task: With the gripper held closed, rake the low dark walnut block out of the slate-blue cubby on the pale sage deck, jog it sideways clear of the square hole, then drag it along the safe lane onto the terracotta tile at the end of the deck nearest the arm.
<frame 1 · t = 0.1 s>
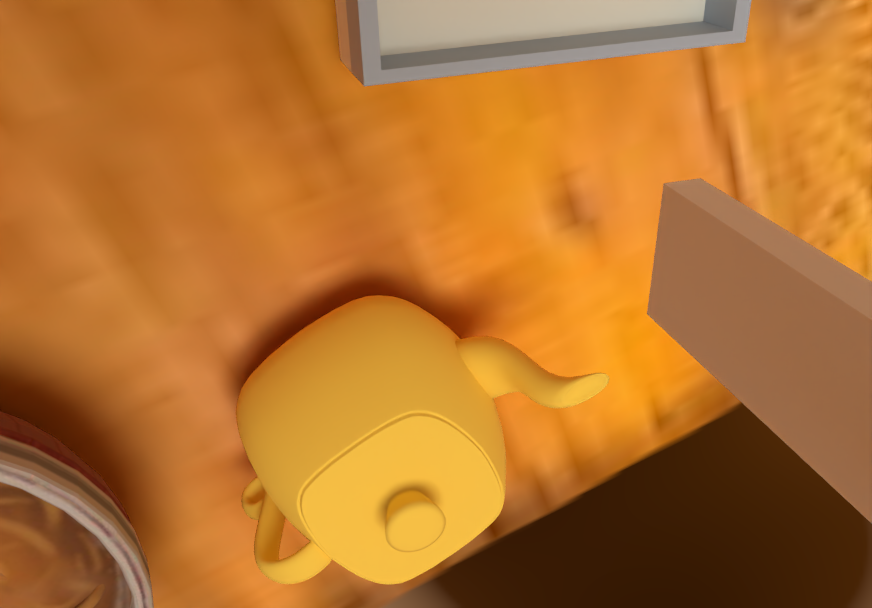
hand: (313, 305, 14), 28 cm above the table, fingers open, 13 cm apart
teapot: (375, 365, 49), on the table
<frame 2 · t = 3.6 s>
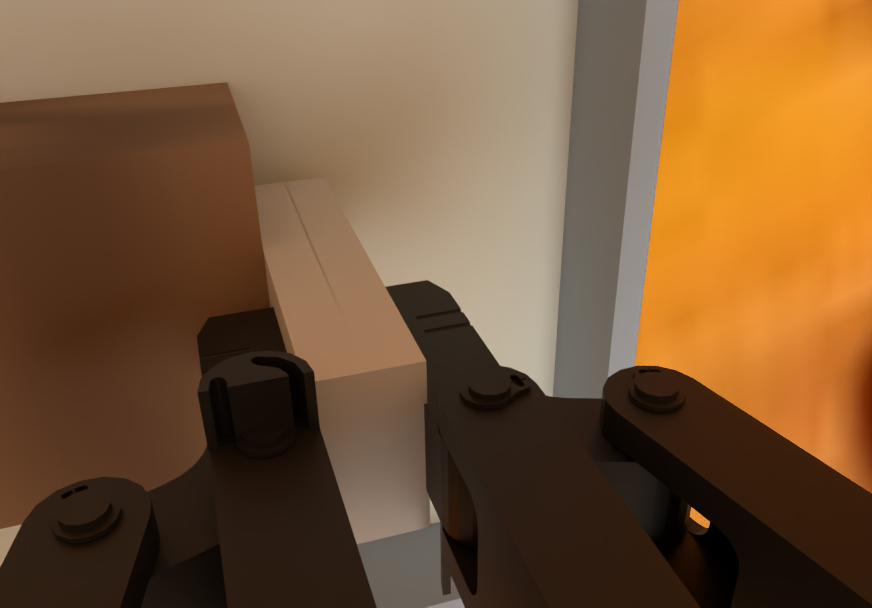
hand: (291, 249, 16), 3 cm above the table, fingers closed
walnut block: (85, 258, 16), point 3 cm above the table
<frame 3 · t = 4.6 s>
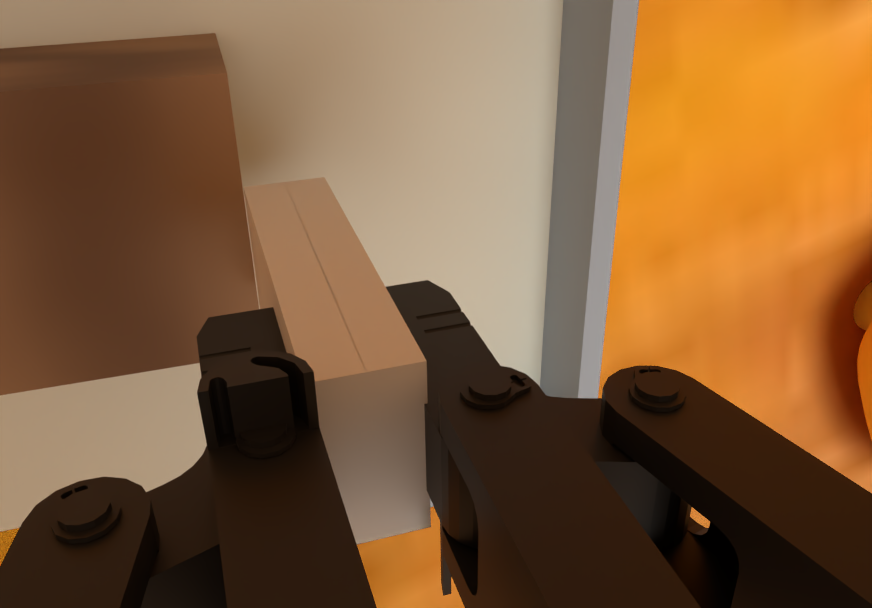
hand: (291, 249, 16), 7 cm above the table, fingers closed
deck: (47, 150, 20), on the table
walnut block: (97, 180, 19), point 2 cm above the table, touching deck
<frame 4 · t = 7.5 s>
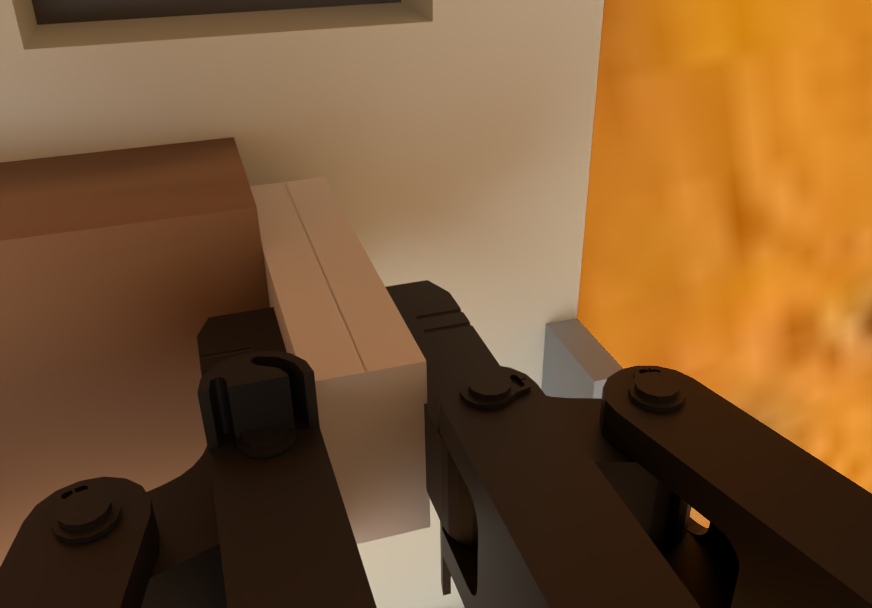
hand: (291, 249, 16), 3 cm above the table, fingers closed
deck: (129, 189, 18), on the table
walnut block: (96, 305, 16), point 3 cm above the table
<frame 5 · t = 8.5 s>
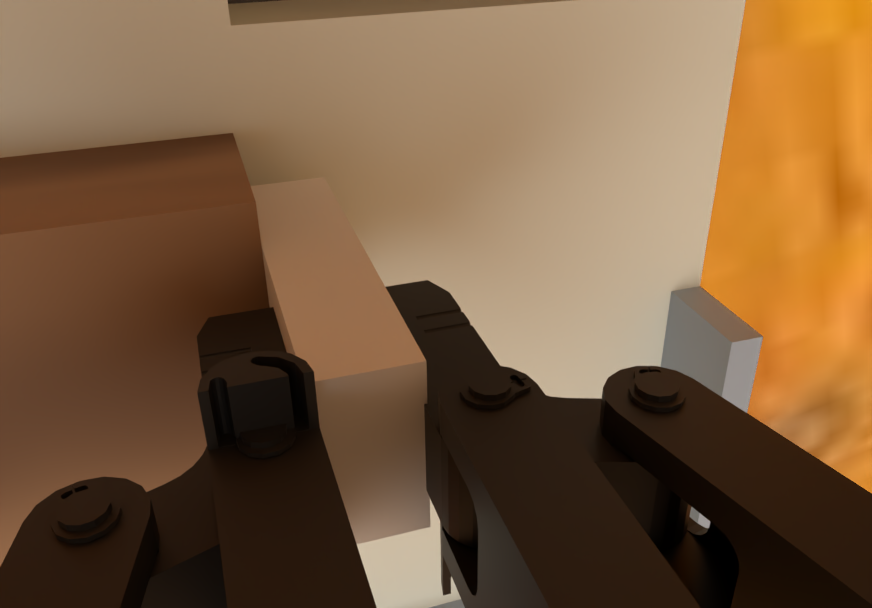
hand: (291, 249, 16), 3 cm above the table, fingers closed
deck: (286, 163, 19), on the table
walnut block: (96, 300, 16), point 2 cm above the table, touching deck
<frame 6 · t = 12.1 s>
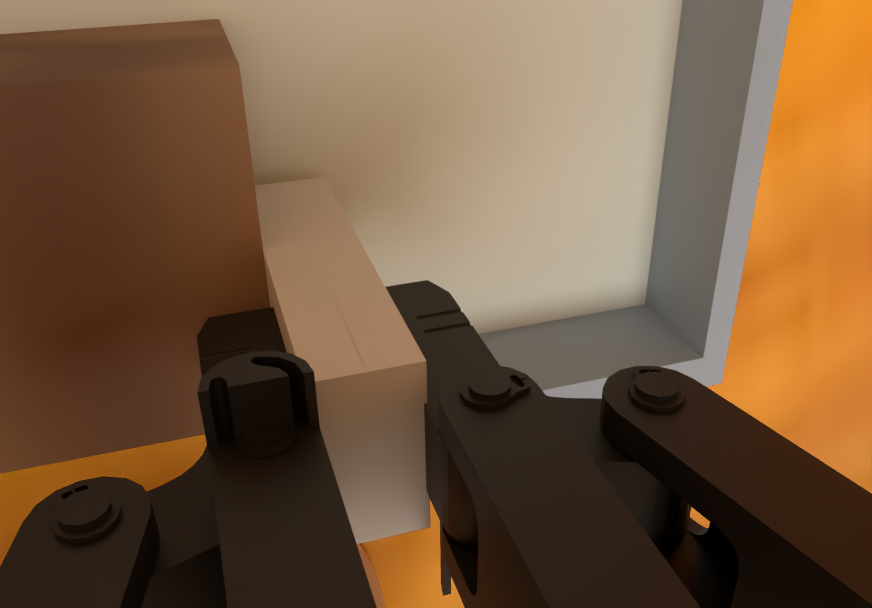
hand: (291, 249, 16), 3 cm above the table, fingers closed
walnut block: (72, 203, 15), point 2 cm above the table, touching deck, gripper
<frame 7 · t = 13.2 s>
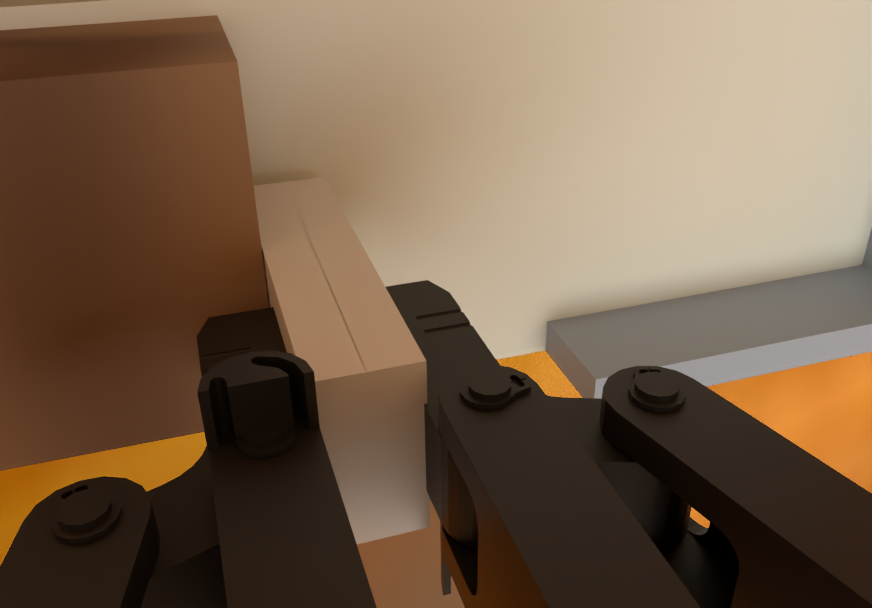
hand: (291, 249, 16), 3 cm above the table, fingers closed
mug: (452, 587, 27), on the table
walnut block: (70, 201, 15), point 2 cm above the table, touching deck
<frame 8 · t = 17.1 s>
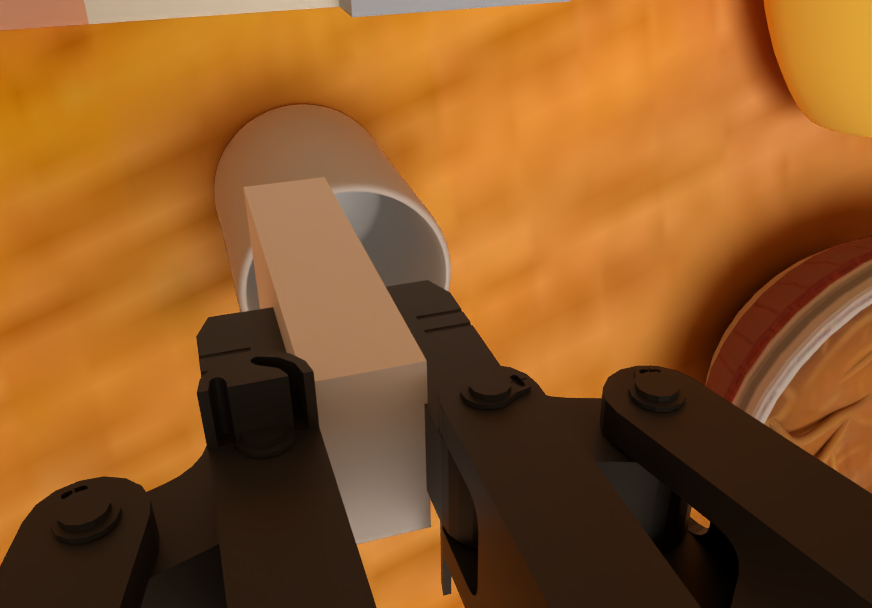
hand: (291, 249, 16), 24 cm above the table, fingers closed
mug: (314, 215, 42), on the table
bowl: (792, 341, 57), on the table
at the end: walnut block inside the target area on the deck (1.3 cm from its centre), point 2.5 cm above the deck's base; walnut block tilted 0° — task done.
